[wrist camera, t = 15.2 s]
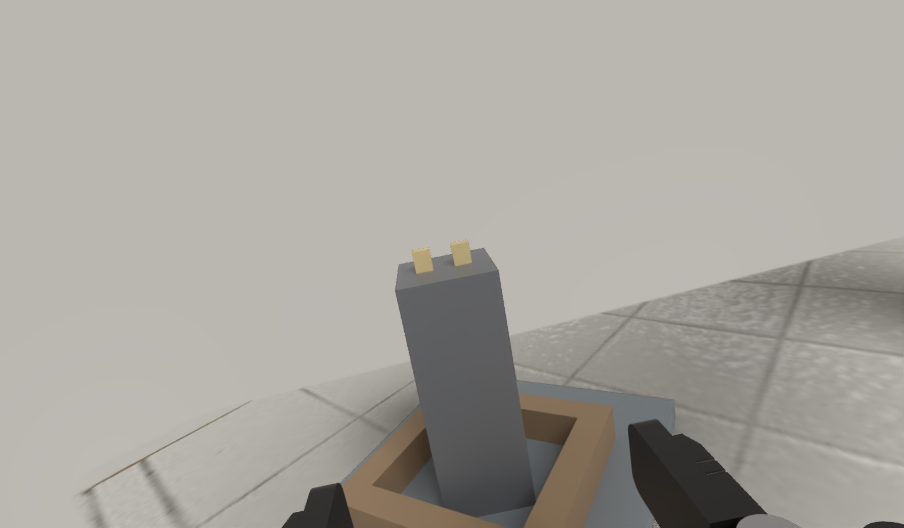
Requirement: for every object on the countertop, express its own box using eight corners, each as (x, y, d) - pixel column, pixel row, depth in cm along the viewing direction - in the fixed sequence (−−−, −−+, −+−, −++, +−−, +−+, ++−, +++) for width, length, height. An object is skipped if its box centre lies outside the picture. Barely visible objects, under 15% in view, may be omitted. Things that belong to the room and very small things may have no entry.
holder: (454, 385, 37) (447, 349, 37) (675, 417, 29) (672, 370, 28) (236, 614, 21) (214, 558, 20) (589, 838, 13) (576, 758, 12)
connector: (517, 448, 27) (480, 228, 24) (536, 504, 23) (494, 247, 19) (442, 463, 27) (394, 245, 24) (447, 523, 23) (389, 267, 19)
